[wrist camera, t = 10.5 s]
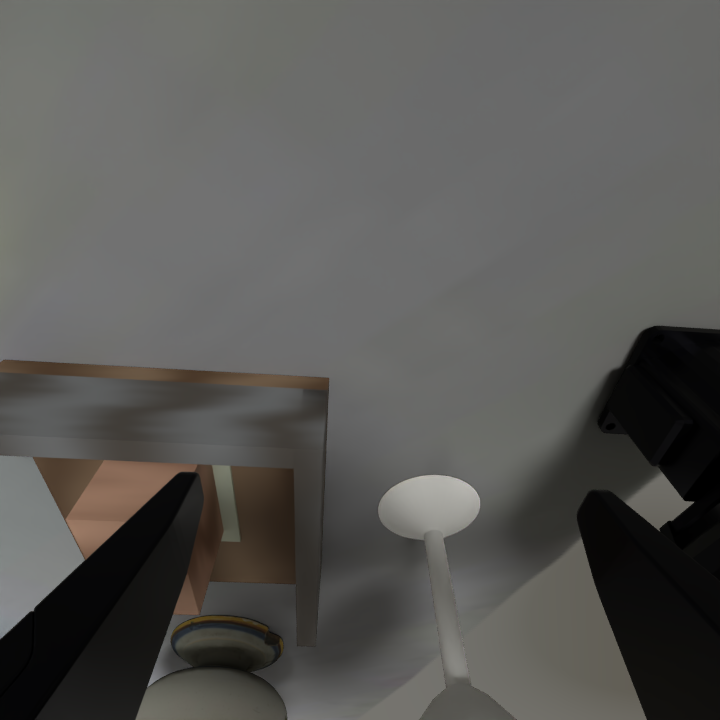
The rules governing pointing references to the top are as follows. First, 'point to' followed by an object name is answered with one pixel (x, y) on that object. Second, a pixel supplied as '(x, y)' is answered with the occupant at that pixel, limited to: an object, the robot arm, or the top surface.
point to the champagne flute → (441, 581)
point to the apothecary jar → (218, 673)
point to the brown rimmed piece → (190, 453)
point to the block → (127, 495)
